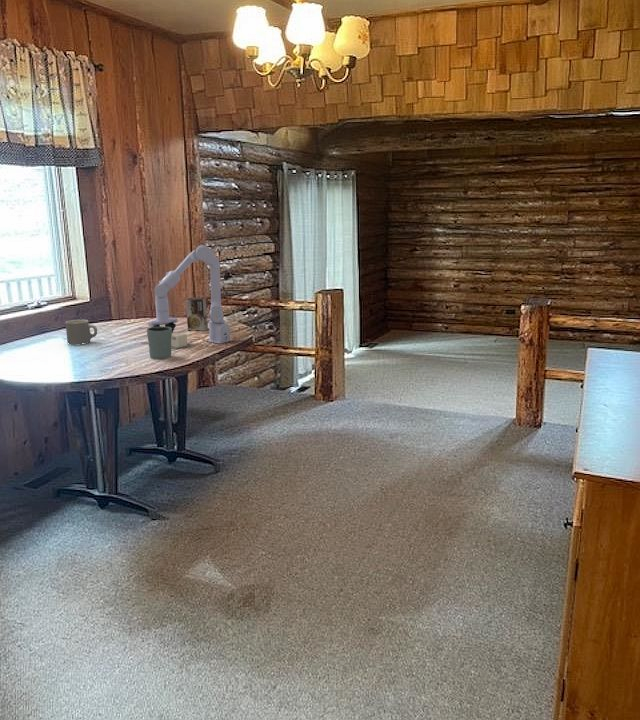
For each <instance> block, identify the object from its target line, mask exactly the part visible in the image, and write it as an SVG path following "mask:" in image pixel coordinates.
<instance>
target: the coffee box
mask: <svg viewBox="0 0 640 720" xmlns="http://www.w3.org/2000/svg"><path fill="white" fill-rule="evenodd" d="M185 306H186V307H185V308H186V309H185V310H186V320H187V323H186V324H187V331H188V330H205V331H207V330H209V321H208V308H207V297H189V298H186V299H185ZM206 329H207V330H206Z"/></svg>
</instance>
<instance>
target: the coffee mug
mask: <svg viewBox="0 0 640 720" xmlns="http://www.w3.org/2000/svg"><path fill="white" fill-rule="evenodd" d="M89 323H90V322H89V320H88V319H73V320H72V319H71V320H67V321H65V332H66V340H67V342H66V343H67V344H68V343H69V344H82V343H87V342H90V343H91V339H94V338H95V337H96V336H97V335H98V329H97V326H96V325H94V324H89ZM91 329H93V331H94V332H93V333H91V331H90V330H91ZM69 344H68V345H69ZM82 345H83V344H82Z"/></svg>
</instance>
